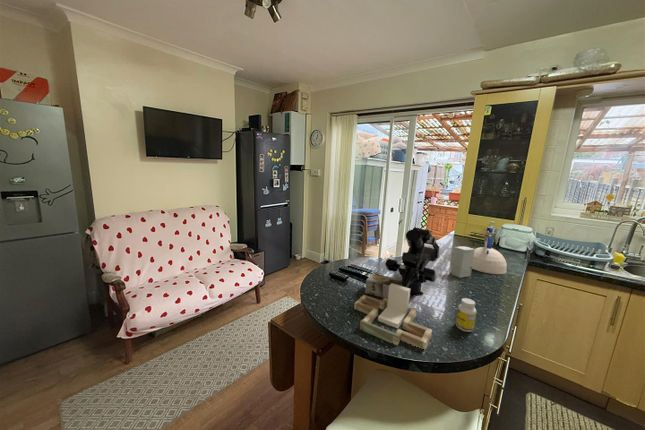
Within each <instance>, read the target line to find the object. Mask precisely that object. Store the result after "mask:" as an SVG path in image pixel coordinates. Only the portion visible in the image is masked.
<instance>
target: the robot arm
mask: <svg viewBox="0 0 645 430" xmlns="http://www.w3.org/2000/svg"><path fill="white" fill-rule="evenodd" d="M405 238H406V242H407V247H408V251H407V252H402V255H401V259H400V260H401V264H399V263H398V261H397V260H396V259H392V258H388V259H386V261H385V262H384V264H385V266H386V269H387V270H388V271H390V272H397V271H398V273H399V275H400V276H401V280H402V286H403V287H406V288H407V287H408V286H409V288H410V297H417V296H422V295H424V292H423V291H422V285H423V284H424V283H426V282H427V281H428V282H431V283H432V282H433V283H435V281H436V278H437V277H436V276H437V275H436V270H435V269H433V268H430V267H429V268H428V267H427V265H428V264H429V263H430V262H435V261H437V259H439V256H440V246H439V245H438V243H437V242H436V240H437V238H436V237H434V236H433V234H432V232H431V230H430V229H424V228H420V227H413V228H412V229H409V230H408V231H407V232H406V233H405ZM425 245H430V246H432V247H429V246H425Z"/></svg>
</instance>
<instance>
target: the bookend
mask: <svg viewBox="0 0 645 430" xmlns="http://www.w3.org/2000/svg"><path fill="white" fill-rule="evenodd" d="M410 297H411V295H410V288H406V287H403V286H399V285H396V284H393V283H391V284H390V285H389V293H388V303H387V306H386V307H385V308H384V309H383V311H382V312H381V313H380V314H378V316H377V322H380V323H383V324H384V325H387V326H391V327H393V328H395V329H397V330H398V329H399V327H400V326H401V324H403V321H404V320H405V318H406V317H407V315H408V314H409V313H408V312H409V304H410Z"/></svg>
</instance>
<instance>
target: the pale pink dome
mask: <svg viewBox="0 0 645 430" xmlns="http://www.w3.org/2000/svg"><path fill="white" fill-rule="evenodd" d="M492 243H493V237H492V236H488V237H486V241H485V243H484V246H482V247H481V246H480V247H477V248H474V249H475V250H474V256H473V263H472V270H474V271H477V272H480V273H485V274H491V275H504V274H506V273H507V265H508V264H507V261H506V259H505V257H504V256H503V254H502V253H501V252H500V251H498V250H497V249H495V248H493V247H492V245H493V244H492Z"/></svg>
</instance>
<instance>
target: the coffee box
mask: <svg viewBox="0 0 645 430" xmlns="http://www.w3.org/2000/svg"><path fill="white" fill-rule="evenodd" d="M391 283H393V284H396V285H399V286H402V279H399V278H396V277H391V276H386V275H382V274H378V273H373V272H371V275H369V277H367V278H366V280H365V288H364V290H365V291H364V293H365V294H367V295H370V296H375V297H377V298H381V299H384V298H387V299H388V293H389V285H390V284H391ZM407 288H409V286H408V287H407Z"/></svg>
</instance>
